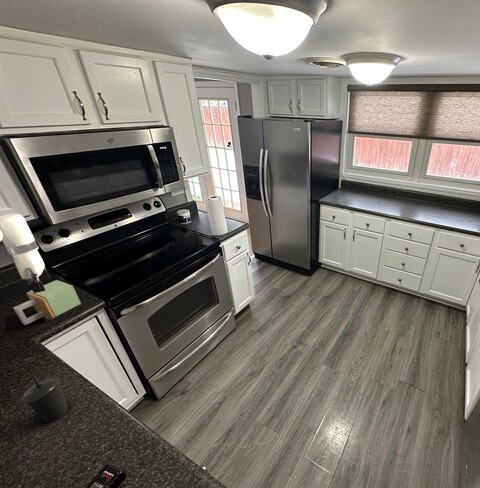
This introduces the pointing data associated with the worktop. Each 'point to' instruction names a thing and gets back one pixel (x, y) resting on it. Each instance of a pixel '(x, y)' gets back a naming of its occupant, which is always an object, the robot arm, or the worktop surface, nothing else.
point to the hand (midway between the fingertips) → (42, 285)
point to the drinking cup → (46, 398)
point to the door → (39, 305)
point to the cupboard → (59, 297)
